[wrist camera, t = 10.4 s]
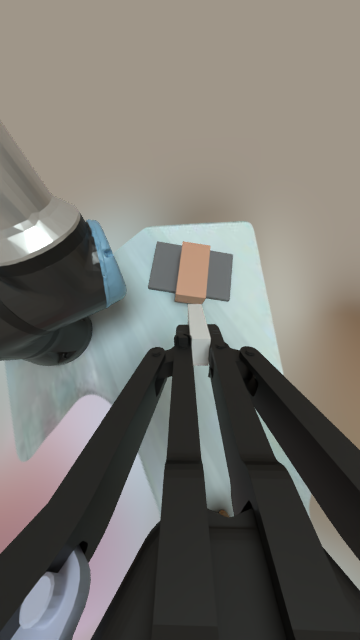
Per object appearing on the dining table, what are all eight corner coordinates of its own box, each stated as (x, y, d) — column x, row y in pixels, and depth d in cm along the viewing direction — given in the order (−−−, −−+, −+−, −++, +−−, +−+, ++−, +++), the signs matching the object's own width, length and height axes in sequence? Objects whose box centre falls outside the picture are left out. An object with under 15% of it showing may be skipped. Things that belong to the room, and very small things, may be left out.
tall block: (175, 294, 35) (182, 241, 38) (174, 301, 40) (181, 254, 43) (205, 298, 35) (210, 245, 38) (201, 304, 40) (205, 257, 43)
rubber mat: (148, 288, 41) (148, 287, 40) (157, 244, 44) (157, 241, 43) (227, 301, 42) (229, 300, 41) (231, 257, 45) (232, 254, 44)
